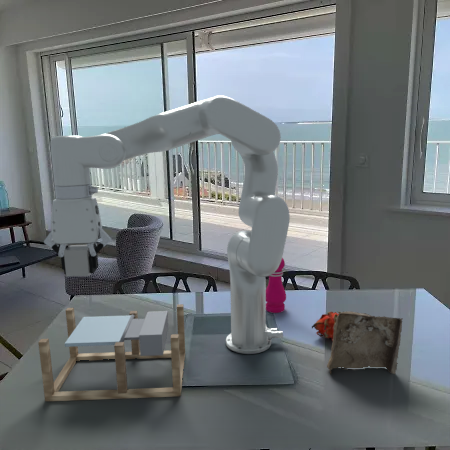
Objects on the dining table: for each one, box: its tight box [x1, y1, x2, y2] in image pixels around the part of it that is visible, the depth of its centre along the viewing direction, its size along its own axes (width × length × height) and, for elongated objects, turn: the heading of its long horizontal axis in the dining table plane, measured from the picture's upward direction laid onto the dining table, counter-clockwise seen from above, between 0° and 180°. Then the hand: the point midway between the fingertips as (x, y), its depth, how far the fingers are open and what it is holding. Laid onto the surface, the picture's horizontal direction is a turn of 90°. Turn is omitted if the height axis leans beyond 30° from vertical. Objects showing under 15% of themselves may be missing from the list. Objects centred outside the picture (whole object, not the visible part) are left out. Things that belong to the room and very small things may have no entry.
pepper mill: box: [266, 257, 287, 314], centre depth 136 cm, size 7×7×20 cm
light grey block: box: [64, 244, 92, 278], centre depth 95 cm, size 5×5×6 cm
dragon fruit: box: [311, 311, 342, 343], centre depth 117 cm, size 8×8×12 cm
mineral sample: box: [326, 310, 404, 375], centre depth 99 cm, size 17×4×15 cm, turn 88°
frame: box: [38, 303, 186, 402], centre depth 99 cm, size 30×19×14 cm, turn 92°
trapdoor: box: [64, 310, 169, 356], centre depth 98 cm, size 21×15×5 cm
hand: (80, 271), depth 95 cm, fingers closed on light grey block, 5 cm apart
